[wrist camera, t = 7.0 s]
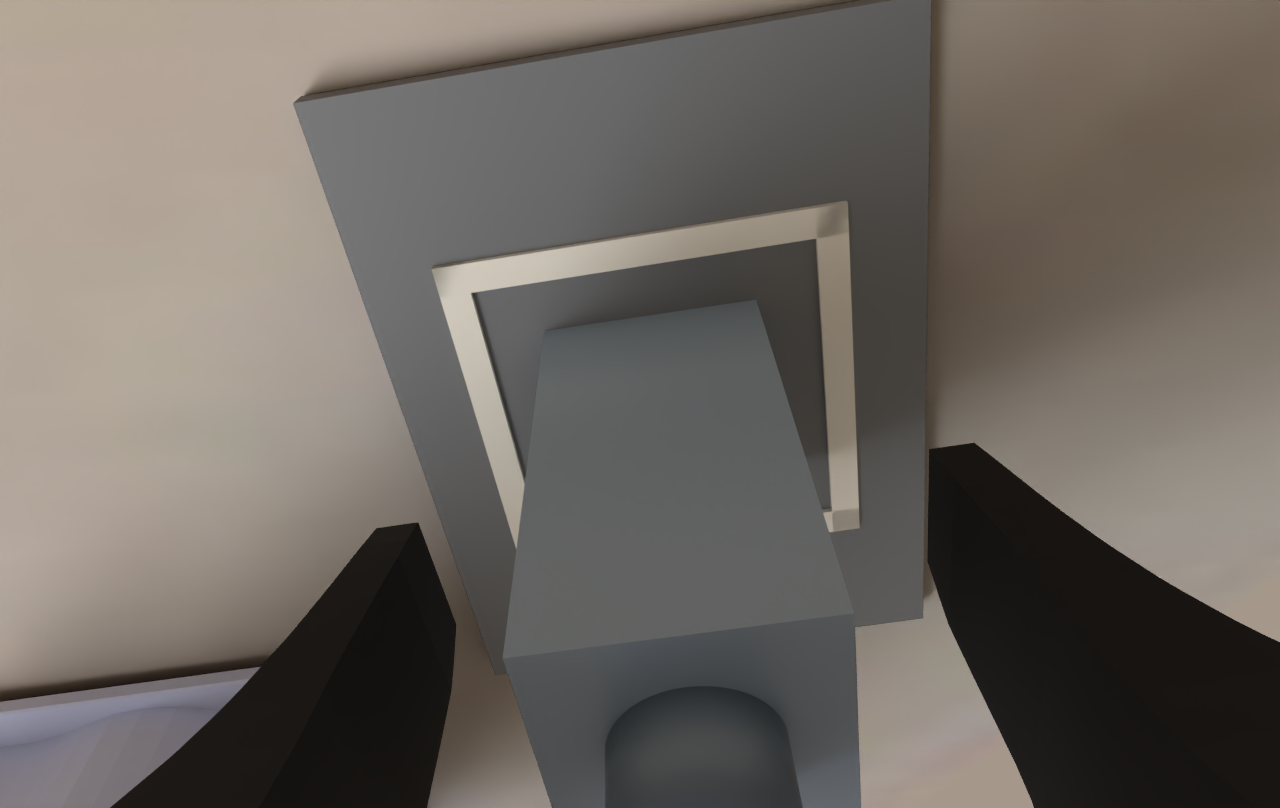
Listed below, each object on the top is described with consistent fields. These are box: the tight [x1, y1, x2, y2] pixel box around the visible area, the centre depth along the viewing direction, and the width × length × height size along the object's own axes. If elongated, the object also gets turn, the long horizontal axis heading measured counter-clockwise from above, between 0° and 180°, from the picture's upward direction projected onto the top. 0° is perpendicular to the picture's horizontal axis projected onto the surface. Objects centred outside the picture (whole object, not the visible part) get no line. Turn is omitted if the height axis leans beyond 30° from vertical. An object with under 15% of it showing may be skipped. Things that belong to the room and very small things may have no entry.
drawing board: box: [293, 0, 931, 675], centre depth 16 cm, size 9×12×1 cm
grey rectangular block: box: [503, 300, 861, 808], centre depth 12 cm, size 4×4×8 cm
